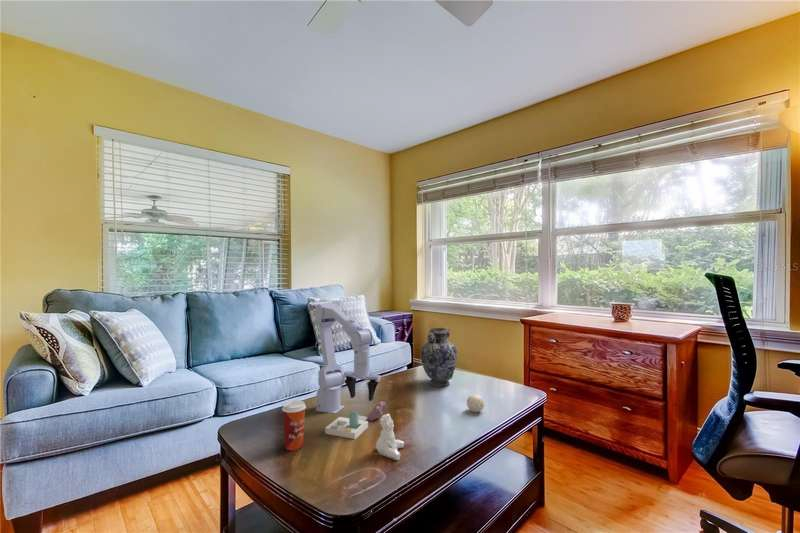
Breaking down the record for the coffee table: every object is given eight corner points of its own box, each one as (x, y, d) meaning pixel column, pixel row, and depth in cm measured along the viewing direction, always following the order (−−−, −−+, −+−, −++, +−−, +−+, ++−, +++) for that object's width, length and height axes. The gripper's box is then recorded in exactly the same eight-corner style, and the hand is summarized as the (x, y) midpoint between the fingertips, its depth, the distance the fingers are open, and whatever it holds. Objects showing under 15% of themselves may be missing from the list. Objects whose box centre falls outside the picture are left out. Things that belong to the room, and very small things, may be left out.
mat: (344, 422, 134) (344, 421, 134) (353, 415, 140) (353, 414, 140) (360, 425, 131) (360, 424, 131) (368, 418, 138) (368, 417, 138)
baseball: (471, 416, 139) (471, 399, 139) (464, 409, 146) (464, 392, 146) (487, 414, 140) (487, 397, 141) (479, 407, 148) (479, 391, 148)
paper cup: (293, 454, 111) (292, 410, 111) (277, 448, 115) (276, 405, 115) (311, 444, 117) (311, 402, 117) (295, 438, 121) (295, 397, 122)
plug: (347, 433, 125) (347, 413, 125) (351, 429, 128) (351, 410, 128) (356, 434, 124) (356, 414, 124) (359, 430, 127) (359, 411, 127)
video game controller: (375, 426, 134) (383, 410, 133) (365, 420, 135) (373, 404, 134) (382, 416, 144) (389, 401, 143) (372, 410, 144) (380, 395, 144)
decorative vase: (447, 392, 165) (445, 333, 166) (413, 386, 175) (412, 330, 176) (464, 381, 183) (463, 327, 184) (433, 376, 193) (432, 325, 194)
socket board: (325, 434, 124) (325, 426, 124) (339, 423, 133) (339, 416, 133) (355, 440, 120) (355, 432, 120) (368, 427, 129) (367, 420, 129)
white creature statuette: (399, 461, 106) (399, 421, 106) (372, 459, 108) (371, 420, 108) (404, 446, 115) (404, 409, 116) (379, 444, 117) (378, 408, 117)
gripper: (339, 363, 130) (339, 399, 130) (374, 366, 125) (374, 405, 125) (348, 358, 137) (349, 393, 137) (382, 361, 131) (382, 398, 131)
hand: (361, 398), depth 131 cm, fingers open, 7 cm apart
